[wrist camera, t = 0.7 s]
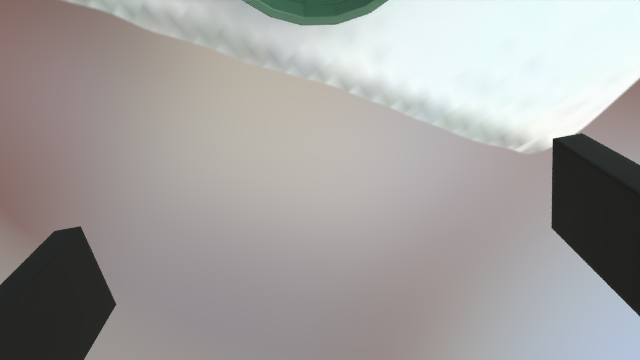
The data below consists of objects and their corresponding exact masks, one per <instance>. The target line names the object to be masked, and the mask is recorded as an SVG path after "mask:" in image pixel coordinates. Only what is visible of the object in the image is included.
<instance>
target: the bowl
mask: <svg viewBox="0 0 640 360" xmlns="http://www.w3.org/2000/svg"><path fill="white" fill-rule="evenodd" d="M243 1H244V2H246V3H248V4H249V5H251V6H253V7H254V8H256V9H258V10H259V11H261V12H263V13H264V14H266V15H268V16H270V17H272V18H276V19H280V20H284V21H287V22H291V23H295V24H299V25H334V24H339V23H342V22H345V21H348V20H351V19H354V18H357V17H360V16H363V15H366V14H369V13H371V12H372V11H374V10H375V9H377V8H378V7H379V6H381V5H382V4H384V3H385V2H387V1H388V0H243Z"/></svg>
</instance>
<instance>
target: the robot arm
mask: <svg viewBox="0 0 640 360" xmlns="http://www.w3.org/2000/svg"><path fill="white" fill-rule="evenodd" d="M552 167H553V168H552V229H553V230H554V231H555V232H556V233H557V234H558V235H559V236H560V237H561V238H562V239H563V240H565V242H566V243H567V244H568V245H569V246H570V247H571V248H572V249H573V250H574V251H575V252H576V253H577V254H578V255H579V256H580V257H581V258H582V259H583V260H584V261H585V262H586V263H587V264H588V265H589V266H590V267H591V268H592V269H593V270H594V271H595V272H596V273H597V274H598V275H599V276H600V277H601V278H602V279H603V280H604V281H605V282H606V283H607V284H608V285H609V286H610V287H611V288H612V289H613V290H614V291H615V292H616V293H617V294H618V295H619V296H620V297H621V298H622V299H623V300H624V301H625V302H626V303H627V304H628V305H629V306H630V307H631V308H632V309H633V310H634V311H635V312H636V313H637V314H638V315H639V316H640V165H638V164H636V163H635V162H633V161H631V160H629V159H628V158H626V157H624V156H622V155H620V154H619V153H617V152H615V151H613V150H611V149H609V148H608V147H606V146H604V145H602V144H600V143H599V142H597V141H595V140H593V139H591V138H590V137H588V136H586V135H584V134H582V133H581V134H576V135H570V136H565V137H559V138H554V139H553V166H552ZM115 306H116V303H115V301H114V299H113V296H112V294H111V292H110V290H109V288H108V286H107V283H106V281H105V279H104V277H103V275H102V272H101V270H100V268H99V266H98V264H97V261H96V259H95V257H94V255H93V253H92V250H91V248H90V246H89V244H88V242H87V239H86V237H85V235H84V233H83V231H82V229H81V227H75V228H69V229H63V230H58V231H54V232H53V233H52V234H51V235H50V236H49V237H48V238H47V239H46V240H45V241H44V242H43V243H42V244H41V245H40V246H39V247H38V248H37V249H36V250H35V251H34V252H33V253H32V254H31V255H30V256H29V257H28V258H27V259H26V260H25V261H24V262H23V263H22V264H21V265H20V266H19V267H18V268H17V269H16V270H15V271H14V272H13V273H12V274H11V275H10V276H9V277H8V278H7V279H6V280H5V281H4V282H3V283H2V284H1V285H0V360H84V358H85V357H86V355H87V353H88V352H89V350H90V348H91V347H92V345H93V343H94V341H95V340H96V338H97V336H98V335H99V333H100V331H101V330H102V328H103V326H104V324H105V323H106V321H107V319H108V318H109V316H110V314H111V312H112V311H113V309H114V307H115Z"/></svg>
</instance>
